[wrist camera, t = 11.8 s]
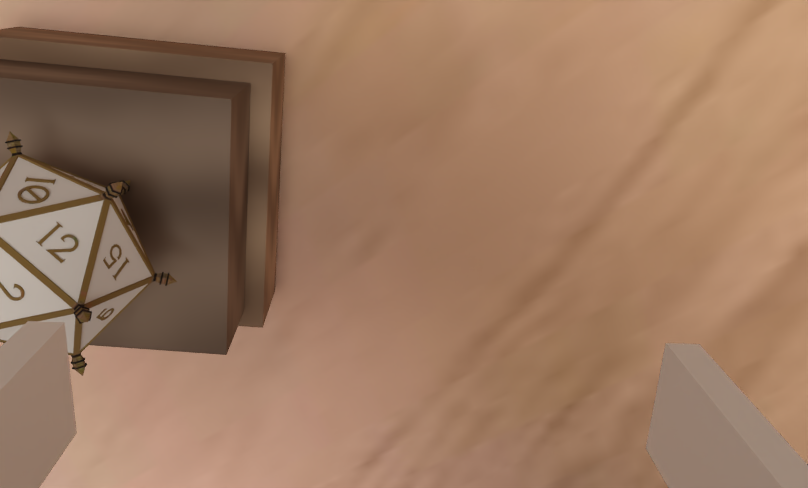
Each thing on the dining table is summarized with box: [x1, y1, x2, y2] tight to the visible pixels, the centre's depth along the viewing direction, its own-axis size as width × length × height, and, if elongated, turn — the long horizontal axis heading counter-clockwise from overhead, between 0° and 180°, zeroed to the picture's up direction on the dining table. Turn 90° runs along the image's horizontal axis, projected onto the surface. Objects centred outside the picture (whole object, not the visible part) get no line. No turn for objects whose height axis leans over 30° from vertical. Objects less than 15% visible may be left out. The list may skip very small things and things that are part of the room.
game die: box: [0, 131, 177, 376], centre depth 28 cm, size 9×8×10 cm
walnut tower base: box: [0, 27, 285, 355], centre depth 37 cm, size 14×14×10 cm
